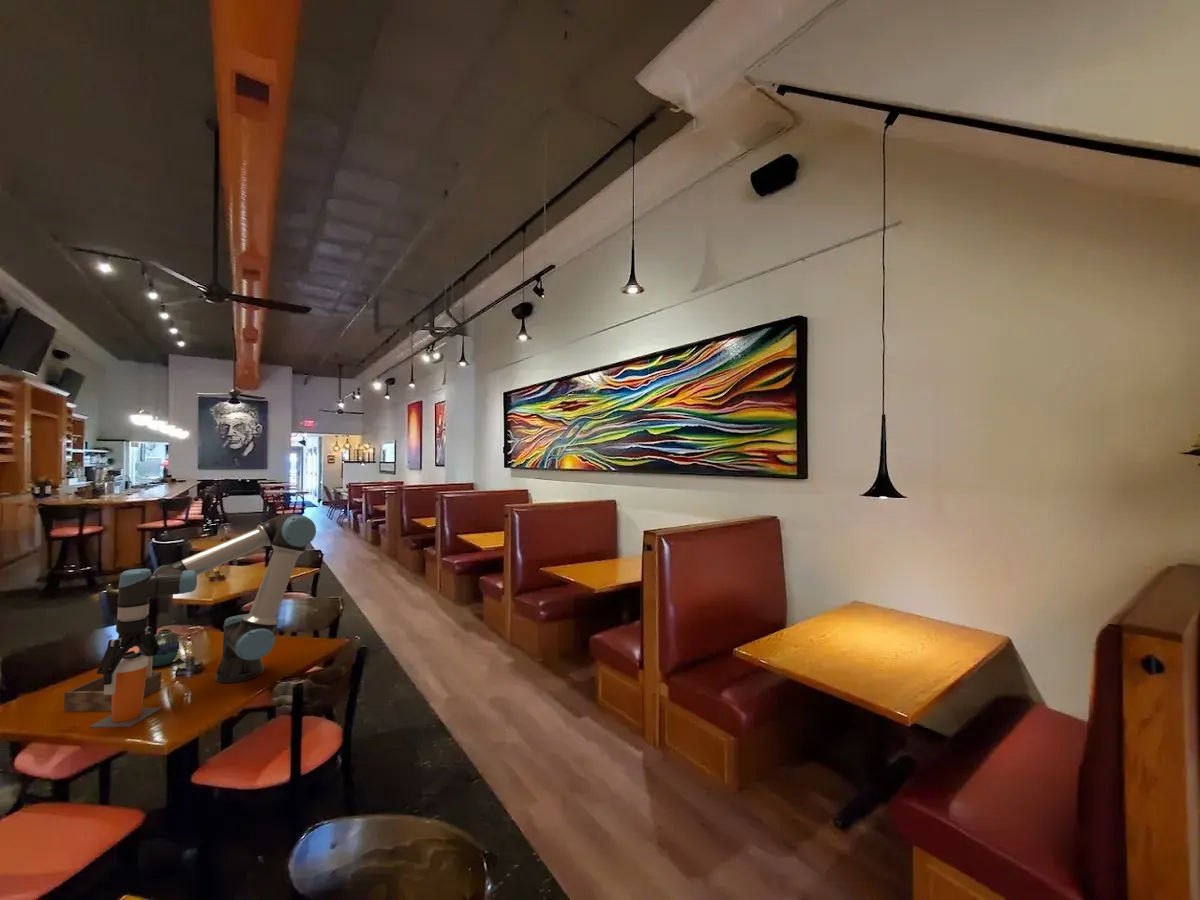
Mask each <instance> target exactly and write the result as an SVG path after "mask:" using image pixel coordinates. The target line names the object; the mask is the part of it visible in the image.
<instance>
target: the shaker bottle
mask: <svg viewBox="0 0 1200 900" xmlns="http://www.w3.org/2000/svg"><path fill="white" fill-rule="evenodd" d="M148 662H149V659H148V658H147V657H146V656H144V655H142V653H138V652H136V651H135V650H131V651H127V652H126V653H125V654H124V656H123V658H122V659H121V661H120V663H119V664H118V666H117V667H116V669H115V671H114V672H116V687H115V694H113V695H112V709H111V711H110V712H111V714H110V715H111V720H112V721H113V722H122V721H127V720H131V719H134V718H136V717H138V716H140V715H141V713H142V708H143V705H144V704H143V703H144V698H145V697H144V689H145V681H146V673H147V666H148Z"/></svg>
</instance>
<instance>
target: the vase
mask: <svg viewBox="0 0 1200 900" xmlns="http://www.w3.org/2000/svg"><path fill="white" fill-rule="evenodd" d="M180 635H182V633H178V632H175V631H173V630H172V629H171V628H164V629H161V630H158V631H157V633H156V634H154V636H155V638H156V640H157V643H158V645H159V648H160V650H159V651H156V652H158V653H157V655H154V657H153V664H152V667H163V666H168V665H171V664H173V663H174V662H173V660H174V659H175V657H176V655H177V652H178V649H179V642H178V641H177V639H178V636H180ZM153 648H154V647H153ZM137 653H142V655H144V656H146V655H145V654H144V653H143V652H142V651H141V650H140V649H139V648H138V652H137ZM172 662H173V663H172ZM170 663H171V664H170Z"/></svg>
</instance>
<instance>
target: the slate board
mask: <svg viewBox="0 0 1200 900" xmlns="http://www.w3.org/2000/svg"><path fill="white" fill-rule="evenodd" d="M162 709H163V708H162V707H142V713H141V715H140V716H138V717H136V718H134V719H131V720H127V721H122V722H113V721H112V720H111V714H110V715H108V716H107V717H104V718H102V719H100V720H99V721H96V722H95V723H93V724H91V725H89V726H88V728H89V727H92V728H95V729H97V728H131V727H133V726H134V725H136V724H138V723H139V722H142V721H143V720H145V719H146V718H149V717H150V716H151V715H153V714H155V713H158V711H160V710H162ZM92 728H91V729H92Z"/></svg>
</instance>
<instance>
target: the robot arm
mask: <svg viewBox="0 0 1200 900" xmlns="http://www.w3.org/2000/svg"><path fill="white" fill-rule="evenodd" d="M316 534H317V526H316V524H315V523H314V521H313V520H312V519H311V518H309V517H307V516H306V515H303V514H296V513H292V512H288V513H283V514H280V515H277V516H275V517H273V518H270V519H269V520H266V521H263V522H261V523H260V524H257V527H256V528H254V529H251V530H250V531H246V532H245V533H243V534H240V535H238V536H235V537H233V538H231V539H228V540H226V541H224V542H221V543H219V544H216V545H214V546H211V547H209V548H207V549H204V550H202V551H200V552H198V553H195V554H192V555H191V556H188V557H185V558H184V559H181V560H178V561H176V562H174V563H171V564H164V565H161V566H159V567H158V568H157V569H155V571H154V572H153V573H152V570H151V569H149V568H134V569H128V570H124V571H123V572H121V573H120V574H119V575H120V576H119V582H118V588H117V589H118V591H117V593H118V594H117V616H116V617H117V618H116V619H117V621H116V623H115V625H116V627H115V632H116V633H117V634H118V637H117V638H116V639H109V640H108V643H107V648H106V650H105V652H104V655H103V657H102V659H101V662H100V664H99V667H98V669H97V671H96V674H97V675H102V676H104V679H103V684H104V695H113V694H115V687H116V672H114V671H115V669H116V667H117V666H118V664H119V663H120V661H121V659H122V658H123V656H124V654H125V653H126V652H129V650H130V649H133V648H134V647H137V648H138V650H139V649H140V650H141V651H142V652H143V653H144V654H145V655H146V657H147V658H148V659H149V662H148V666H147V673H146V676H152V672H153V666H152V664H153V657H154V655H157V653H158V652H156V651H159V650H160V648H159V645H158V643H157V640H156V638H155V636H154V635H155V633H154V627H153V626H149V615H150V614H149V613H150V611H149V610H150V599H151V598H157V597H163V596H173V595H180V594H181V595H183V594H188V593H191V592H194V591H195V590H196V588H197V587H198V586H197V585H198V576H200V575H201V574H204V573H206V572H209V571H211V570H213V569H215V568H218V567H219V566H221V565H224V564H226V563H228V562H230V561H231V562H232V561H233V560H235V559H237V558H239V557H240V558H241V557H242V556H244V555H246V554H249V553H250V552H252V551H255V550H257V549H260V548H262V547H265V546H266V547H270V546H271V548H272V549H273V553H272V554H271V557H270V560H269V563H268V565H267V568H266V570H265V573H264V575H263V578H262V581H261V582H260V585H259V588H258V591H257V593H256V596H255V599H254V601H253V604H252V606H251V608H250V611H249V613H246V614H245V613H244V614H238V615H235V616H234V615H233V616H230V617H228V618H227V617H226V619H225V620H224V623H223V638H222V639H223V642H222V658H221V661H220V663H219V665H218V667H217V670H216V673H215V681H216V682H217V683H222V684H233V683H239V682H245V681H248V679H249V680H251V678H252V679H254V678H256V677H255V676H257V675H259V674H260V673H261V672H262V671H263V672H264V663H263V661H262V658H264V657H265V656H266V655H268V654H269V653H270V652H271V651H272V649H274V645H275V643H276V636H275V631H276V629H277V625H278V621H277V619H276V616H277V613H278V610H279V608H280V605H281V602H282V600H283V597H284V595H285V592H286V589H287V587H288V585H289V581H290V579H291V576H292V574H293V571H294V569H295V566H296V564H297V560H298V559H299V556H300V555H302V554H304V553H305V552H306V549H307V546H308V545H309V544H311V543H312V542H313V540H314V538H315V537H316ZM153 647H154V648H153ZM260 675H261V674H260ZM260 675H259V676H260ZM253 677H254V678H253ZM257 677H258V676H257Z"/></svg>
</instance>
